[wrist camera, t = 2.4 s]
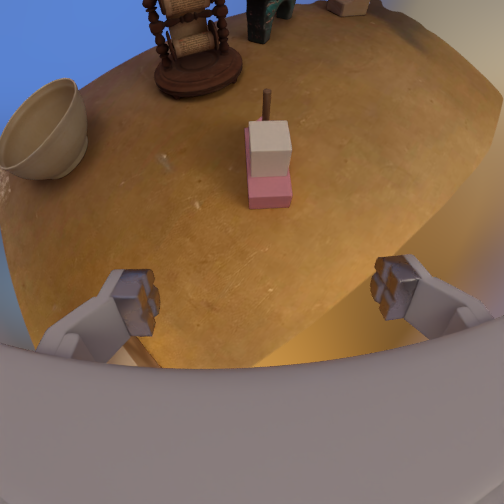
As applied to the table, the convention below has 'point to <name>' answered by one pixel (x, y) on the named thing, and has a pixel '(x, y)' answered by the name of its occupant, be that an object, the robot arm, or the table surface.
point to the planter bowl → (46, 133)
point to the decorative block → (348, 7)
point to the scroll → (192, 48)
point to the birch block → (133, 355)
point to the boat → (268, 160)
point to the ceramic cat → (265, 17)
